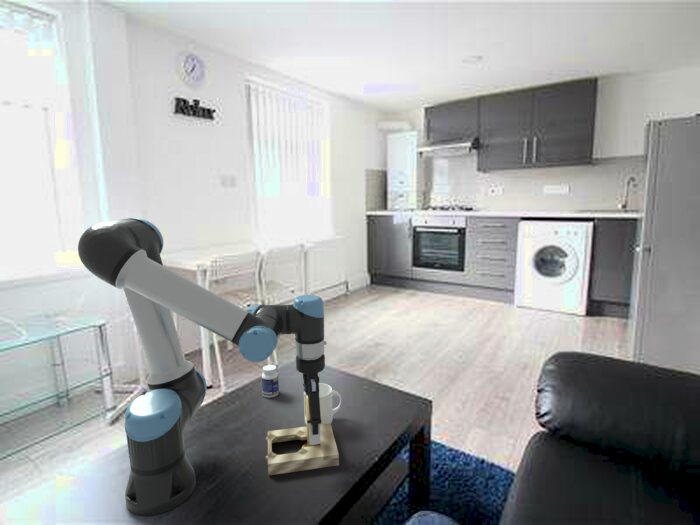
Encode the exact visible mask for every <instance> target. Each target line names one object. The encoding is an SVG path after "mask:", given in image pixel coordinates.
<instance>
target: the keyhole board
mask: <svg viewBox="0 0 700 525" xmlns="http://www.w3.org/2000/svg"><path fill="white" fill-rule="evenodd" d="M332 427H333V426H332V423H331V424H322V425H320V436H321V444H320V445H318V446H310V447H303V448H302V447H301V448H300V449H299V450H297V452H291V453H289V452H288V453H284V454H277V453H274V452H273V444H275V443H282V442H283V443H284V442H292V441H297V440H298V441H299V440H300V441H306V440H307V425H305V426H299V427H293V428H291V427H290V428H284V429H274V430H268V431H267V436H266V437H265V442H267V455H265V461H266V462H267V471H268V472H267V474H268V475H267V476H273V475H280V474H288V473H295V472H300V471H308V470H315V469H323V468H330V467H335V466H339V465H340V455H339V449H338V446H337V443H336V439H335V435H334V432H333V428H332Z"/></svg>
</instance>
